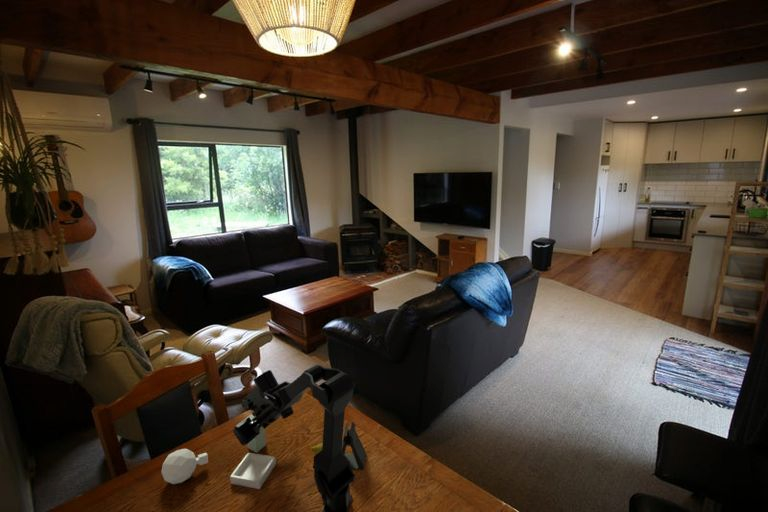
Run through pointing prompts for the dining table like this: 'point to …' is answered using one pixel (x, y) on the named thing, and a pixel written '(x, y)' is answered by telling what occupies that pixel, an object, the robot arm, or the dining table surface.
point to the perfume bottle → (181, 465)
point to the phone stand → (353, 448)
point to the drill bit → (317, 448)
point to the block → (257, 439)
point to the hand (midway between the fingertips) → (252, 427)
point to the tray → (253, 470)
